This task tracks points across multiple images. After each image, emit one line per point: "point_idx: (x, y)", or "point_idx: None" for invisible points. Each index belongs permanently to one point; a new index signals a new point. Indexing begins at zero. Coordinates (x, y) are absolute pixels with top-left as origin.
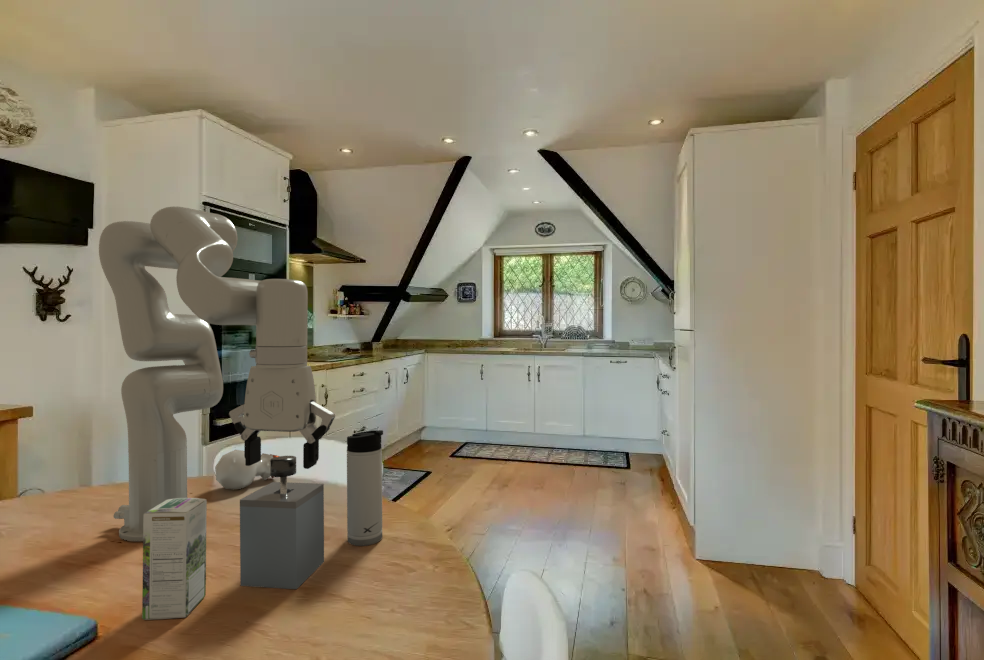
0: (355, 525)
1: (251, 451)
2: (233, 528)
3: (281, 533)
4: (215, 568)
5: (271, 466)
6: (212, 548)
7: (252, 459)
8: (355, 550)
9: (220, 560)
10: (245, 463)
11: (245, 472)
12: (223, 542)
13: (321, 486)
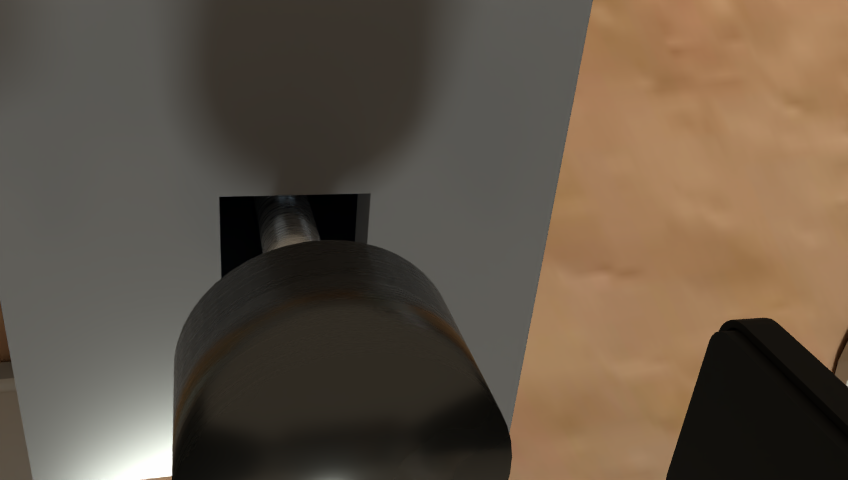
0: (11, 430)
1: (813, 458)
2: (680, 400)
3: None
4: (600, 65)
5: (440, 329)
6: (690, 234)
7: (735, 399)
8: (3, 319)
9: (612, 139)
10: (778, 327)
11: None
12: (669, 289)
13: (32, 450)
